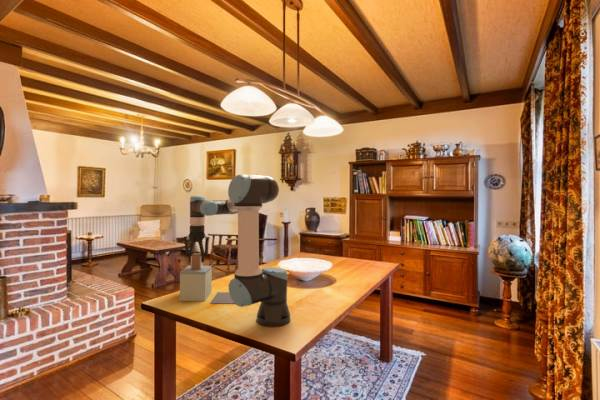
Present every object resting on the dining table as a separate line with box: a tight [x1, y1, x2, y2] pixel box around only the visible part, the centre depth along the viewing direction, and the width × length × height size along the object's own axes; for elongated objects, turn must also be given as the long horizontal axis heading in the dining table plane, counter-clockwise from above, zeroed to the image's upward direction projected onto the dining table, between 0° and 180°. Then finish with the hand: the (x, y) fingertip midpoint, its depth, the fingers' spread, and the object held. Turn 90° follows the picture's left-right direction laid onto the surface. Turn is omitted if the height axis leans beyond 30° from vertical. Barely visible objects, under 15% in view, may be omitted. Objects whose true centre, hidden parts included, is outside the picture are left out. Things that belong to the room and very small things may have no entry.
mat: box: [209, 291, 236, 305], centre depth 159 cm, size 16×16×1 cm
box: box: [179, 267, 213, 302], centre depth 160 cm, size 13×13×14 cm
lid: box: [179, 252, 213, 275], centre depth 159 cm, size 13×13×10 cm
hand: (196, 267), depth 159 cm, fingers closed on lid, 4 cm apart
